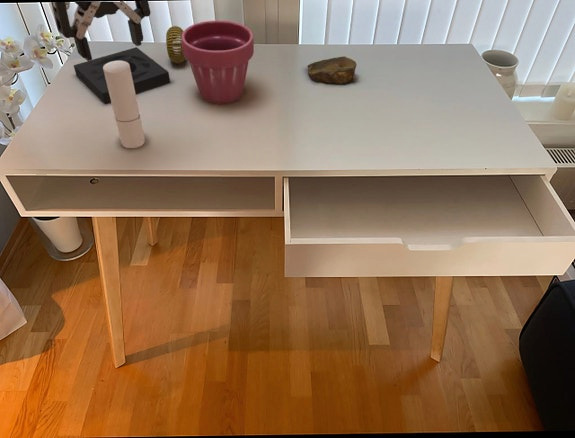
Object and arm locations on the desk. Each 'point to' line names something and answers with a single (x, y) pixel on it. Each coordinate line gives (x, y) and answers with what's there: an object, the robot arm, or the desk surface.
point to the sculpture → (174, 44)
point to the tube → (124, 103)
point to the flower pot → (218, 58)
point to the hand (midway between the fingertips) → (112, 51)
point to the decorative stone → (333, 70)
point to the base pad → (141, 67)
